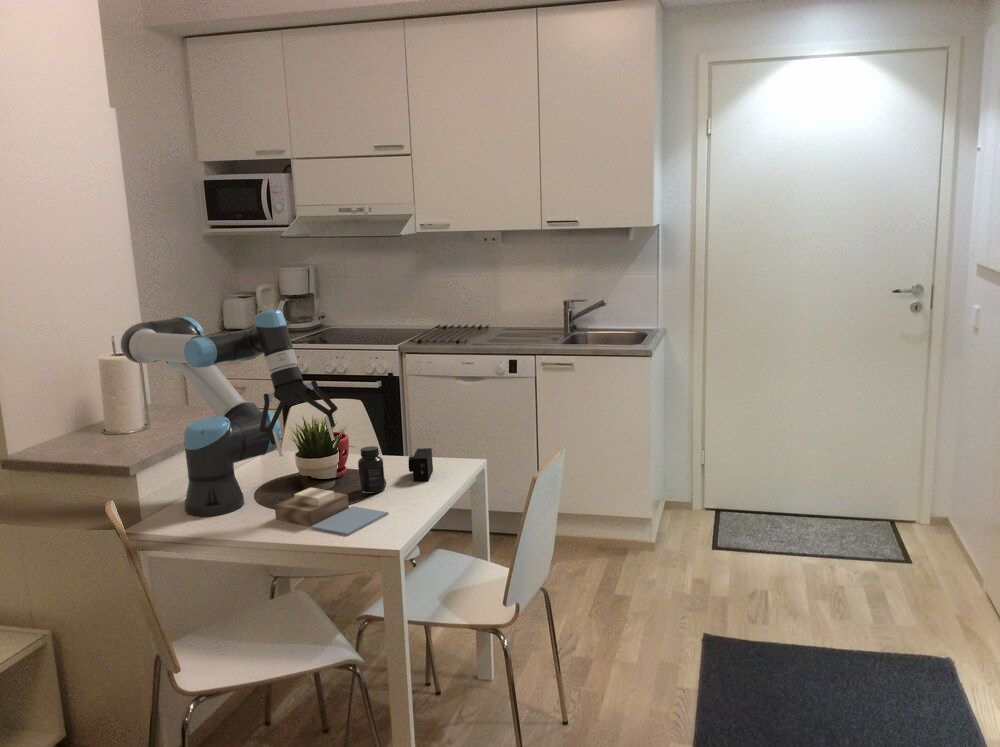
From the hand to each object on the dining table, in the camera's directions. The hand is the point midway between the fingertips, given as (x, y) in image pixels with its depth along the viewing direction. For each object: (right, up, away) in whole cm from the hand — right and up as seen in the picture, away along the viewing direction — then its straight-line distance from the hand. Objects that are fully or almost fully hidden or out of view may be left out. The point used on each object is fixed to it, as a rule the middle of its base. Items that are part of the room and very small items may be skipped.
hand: (307, 448), depth 230 cm
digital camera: (+27, -11, +27) cm, 40 cm away
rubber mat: (+12, -18, -8) cm, 23 cm away
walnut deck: (+2, -17, -2) cm, 17 cm away
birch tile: (+2, -13, -3) cm, 13 cm away
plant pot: (-1, -11, +32) cm, 33 cm away
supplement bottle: (+14, -13, +16) cm, 25 cm away
